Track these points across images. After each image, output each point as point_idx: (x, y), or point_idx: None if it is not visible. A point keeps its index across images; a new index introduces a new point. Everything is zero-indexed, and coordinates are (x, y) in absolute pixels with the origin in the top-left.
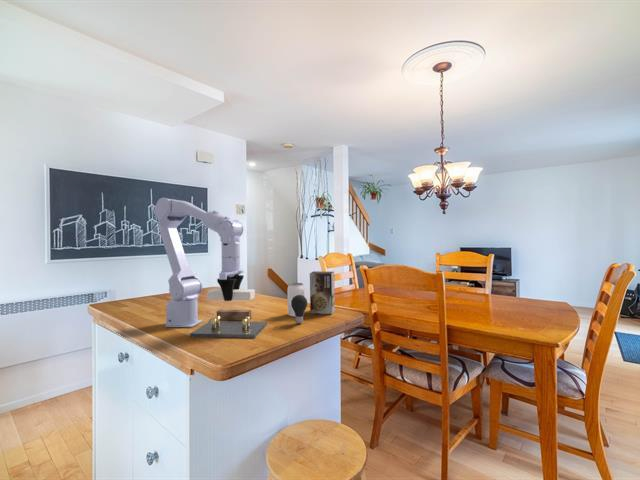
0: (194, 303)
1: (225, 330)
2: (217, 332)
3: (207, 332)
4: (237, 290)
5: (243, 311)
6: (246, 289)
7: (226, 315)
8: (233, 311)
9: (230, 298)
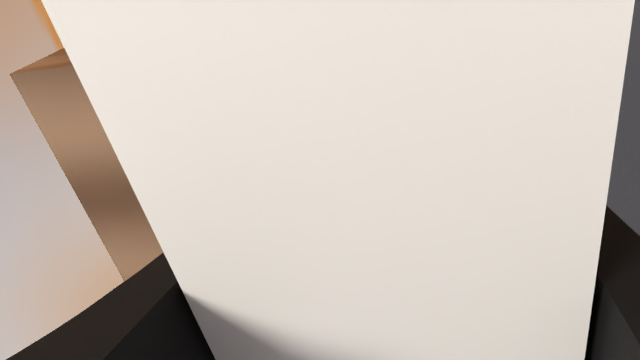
0: None
1: None
2: (630, 103)
3: (625, 183)
4: (320, 261)
5: (92, 119)
6: (94, 90)
7: None
8: (134, 200)
9: (616, 222)
